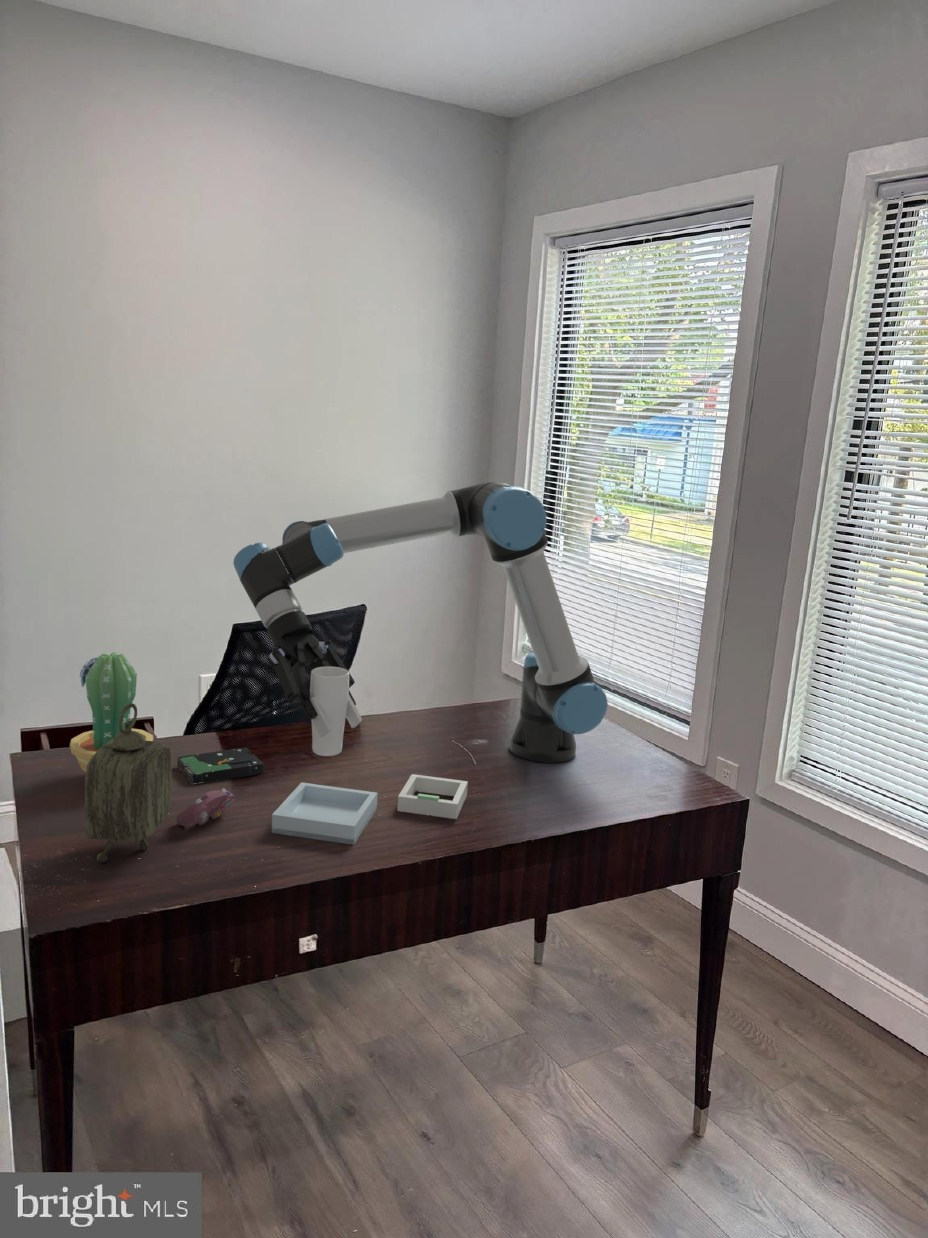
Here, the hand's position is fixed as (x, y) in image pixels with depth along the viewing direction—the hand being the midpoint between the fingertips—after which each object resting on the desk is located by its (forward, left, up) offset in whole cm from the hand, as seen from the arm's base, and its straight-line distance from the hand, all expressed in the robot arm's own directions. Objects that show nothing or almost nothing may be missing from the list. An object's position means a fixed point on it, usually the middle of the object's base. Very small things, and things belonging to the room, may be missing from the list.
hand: (341, 728), depth 162 cm
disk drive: (+31, -18, -20) cm, 40 cm away
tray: (+3, -2, -19) cm, 19 cm away
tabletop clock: (+30, +18, -19) cm, 40 cm away
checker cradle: (-14, -16, -19) cm, 28 cm away
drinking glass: (+3, -2, -6) cm, 7 cm away
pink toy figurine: (+23, +4, -19) cm, 30 cm away
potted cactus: (+48, -7, -19) cm, 52 cm away
